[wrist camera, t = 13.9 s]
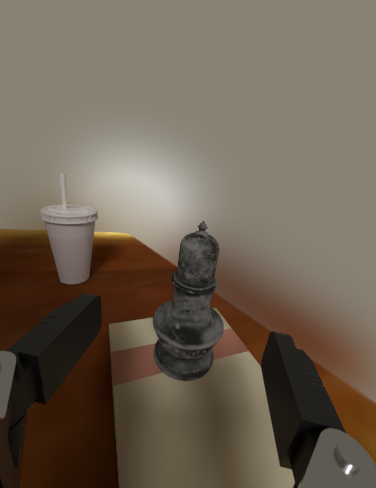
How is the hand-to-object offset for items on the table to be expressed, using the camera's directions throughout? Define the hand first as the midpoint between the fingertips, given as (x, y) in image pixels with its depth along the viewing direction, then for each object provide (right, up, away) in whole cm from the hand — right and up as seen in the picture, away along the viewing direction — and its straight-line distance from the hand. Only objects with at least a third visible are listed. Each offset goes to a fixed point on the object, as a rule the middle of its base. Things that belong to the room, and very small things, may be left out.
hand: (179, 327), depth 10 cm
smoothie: (-16, -1, +20) cm, 26 cm away
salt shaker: (0, -6, +9) cm, 11 cm away
